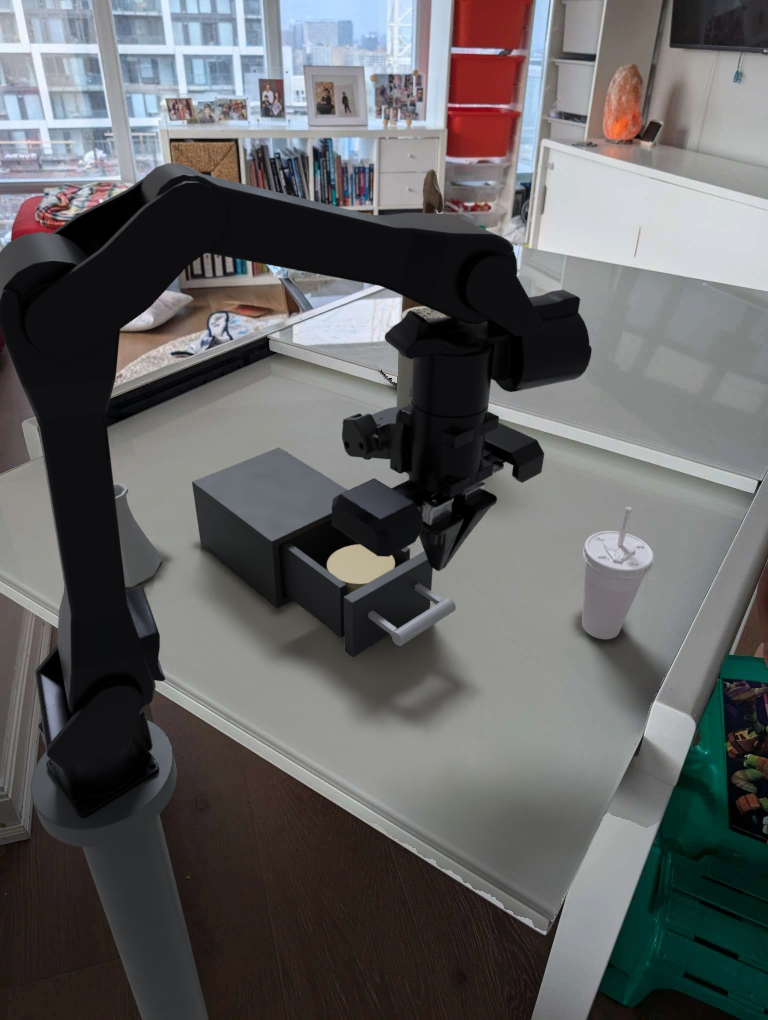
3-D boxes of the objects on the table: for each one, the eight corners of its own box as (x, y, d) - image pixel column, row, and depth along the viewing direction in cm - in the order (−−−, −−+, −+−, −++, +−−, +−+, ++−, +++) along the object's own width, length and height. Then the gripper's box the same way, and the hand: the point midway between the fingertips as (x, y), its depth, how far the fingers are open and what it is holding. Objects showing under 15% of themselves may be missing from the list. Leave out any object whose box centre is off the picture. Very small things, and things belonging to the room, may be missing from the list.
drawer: (464, 633, 74) (470, 579, 70) (386, 686, 68) (388, 630, 64) (343, 549, 85) (343, 498, 81) (267, 589, 79) (263, 536, 75)
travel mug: (405, 420, 113) (410, 302, 103) (457, 429, 111) (467, 309, 101) (388, 444, 107) (391, 320, 97) (442, 454, 105) (451, 329, 95)
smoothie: (635, 614, 78) (666, 500, 70) (631, 655, 73) (664, 538, 65) (572, 599, 80) (596, 487, 72) (564, 639, 75) (588, 523, 67)
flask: (77, 579, 81) (56, 500, 75) (121, 542, 87) (104, 466, 81) (133, 596, 79) (116, 517, 73) (174, 557, 84) (161, 481, 79)
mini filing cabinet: (361, 563, 84) (362, 498, 79) (276, 609, 78) (271, 541, 73) (283, 508, 93) (279, 447, 88) (200, 545, 86) (191, 481, 82)
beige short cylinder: (359, 633, 71) (357, 592, 69) (315, 601, 76) (312, 562, 73) (409, 603, 75) (409, 563, 73) (364, 574, 79) (363, 536, 77)
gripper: (455, 339, 66) (443, 490, 75) (281, 400, 55) (291, 568, 64) (560, 379, 59) (534, 540, 68) (385, 457, 49) (381, 637, 57)
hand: (437, 567), depth 64 cm, fingers closed
